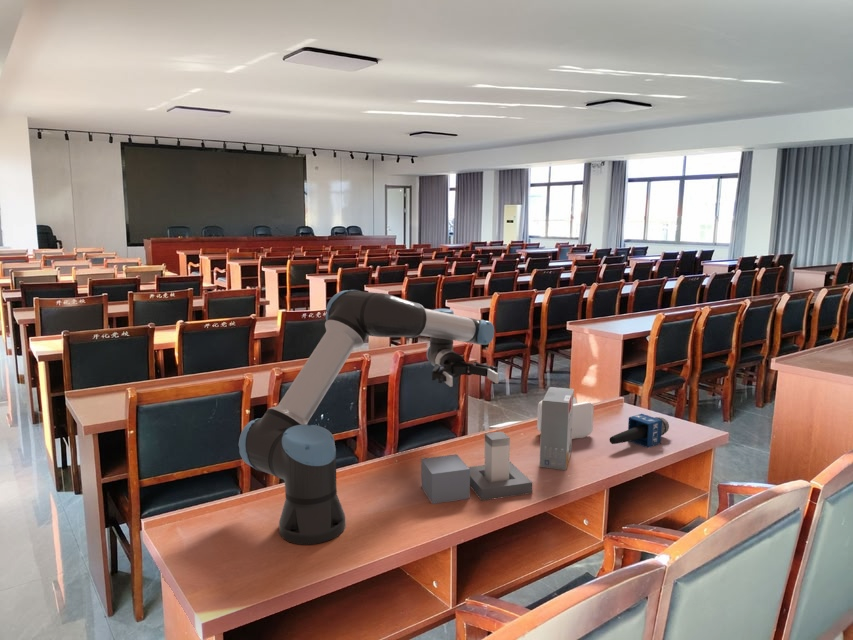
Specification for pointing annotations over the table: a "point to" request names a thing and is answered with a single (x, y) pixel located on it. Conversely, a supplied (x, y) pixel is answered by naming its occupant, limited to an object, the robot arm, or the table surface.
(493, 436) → the plug
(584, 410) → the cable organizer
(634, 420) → the microphone
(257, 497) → the table surface
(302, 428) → the robot arm
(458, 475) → the stand
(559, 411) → the hard drive box
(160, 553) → the table surface
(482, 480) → the socket block
